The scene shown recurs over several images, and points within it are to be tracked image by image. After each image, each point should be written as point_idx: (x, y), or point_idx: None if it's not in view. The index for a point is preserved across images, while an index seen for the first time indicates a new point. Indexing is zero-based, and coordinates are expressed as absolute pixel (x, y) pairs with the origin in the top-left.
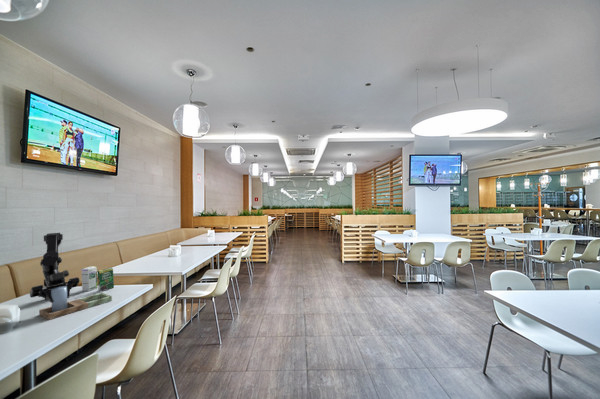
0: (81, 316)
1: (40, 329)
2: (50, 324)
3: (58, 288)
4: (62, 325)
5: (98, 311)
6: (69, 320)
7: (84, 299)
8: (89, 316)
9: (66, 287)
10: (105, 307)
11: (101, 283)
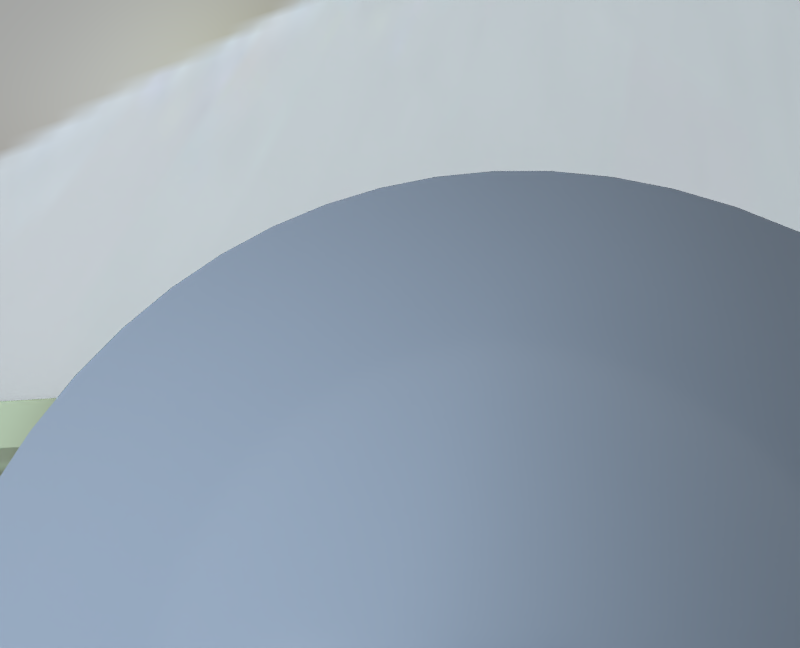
0: (346, 143)
1: (791, 111)
2: (683, 177)
3: (588, 633)
4: (574, 46)
5: (161, 144)
6: (482, 127)
7: None
8: (299, 75)
9: (112, 339)
10: (31, 212)
11: None
